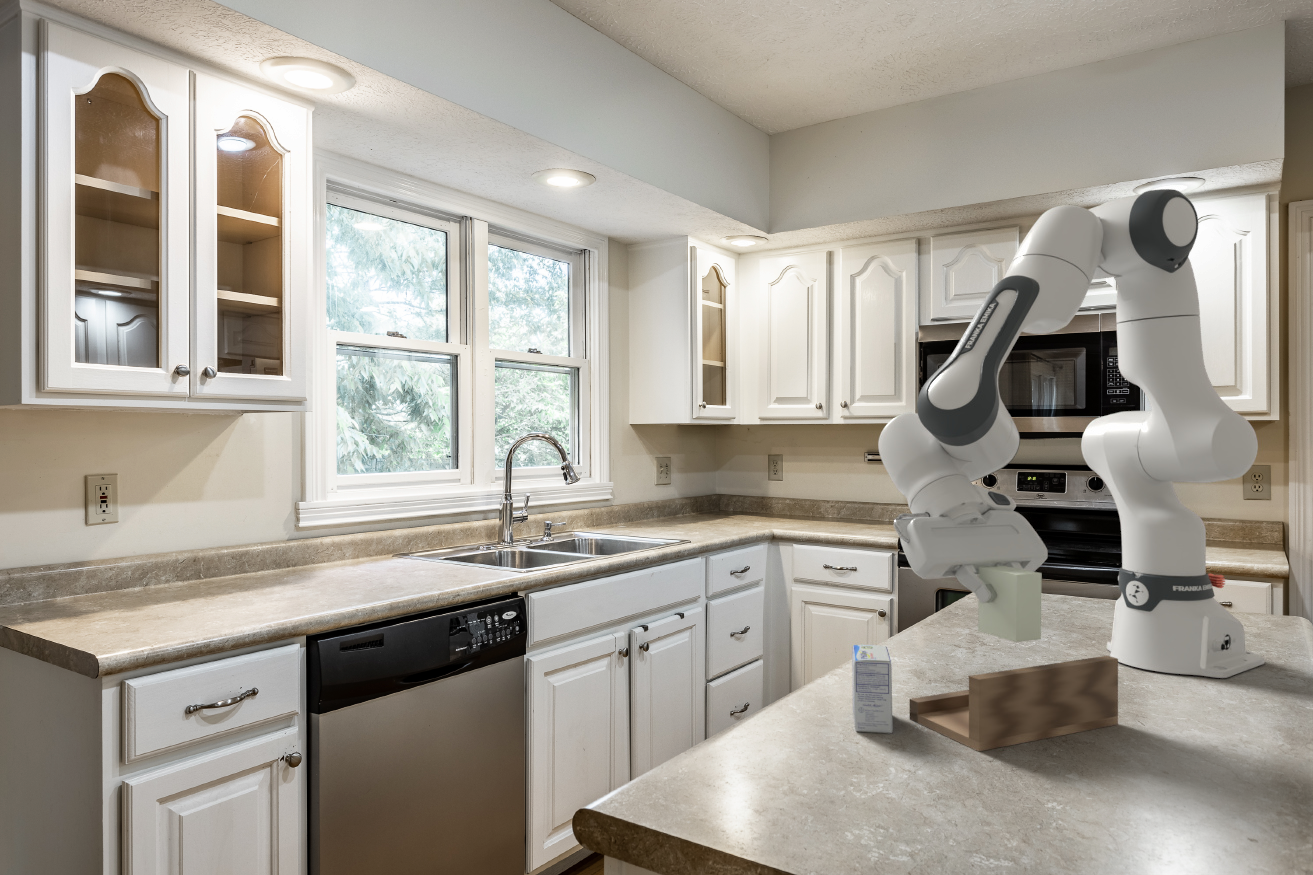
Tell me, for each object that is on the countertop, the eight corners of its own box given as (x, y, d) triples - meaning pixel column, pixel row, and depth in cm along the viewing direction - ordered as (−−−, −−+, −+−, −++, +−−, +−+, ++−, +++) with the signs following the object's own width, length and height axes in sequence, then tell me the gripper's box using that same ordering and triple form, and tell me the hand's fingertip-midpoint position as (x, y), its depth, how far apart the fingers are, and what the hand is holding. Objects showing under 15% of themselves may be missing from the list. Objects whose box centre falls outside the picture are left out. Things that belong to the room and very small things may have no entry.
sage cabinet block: (1002, 628, 106) (1003, 565, 106) (1040, 639, 100) (1041, 572, 100) (978, 631, 104) (978, 567, 104) (1015, 642, 99) (1016, 574, 99)
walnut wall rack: (1040, 696, 112) (1040, 637, 112) (1118, 724, 101) (1118, 658, 101) (909, 718, 103) (909, 654, 103) (978, 751, 92) (978, 679, 92)
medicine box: (892, 735, 98) (892, 661, 98) (853, 732, 99) (853, 659, 99) (887, 713, 105) (887, 644, 105) (851, 710, 106) (851, 643, 106)
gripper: (899, 498, 105) (954, 588, 96) (1020, 496, 113) (1081, 579, 104) (877, 530, 109) (927, 619, 100) (995, 525, 118) (1051, 607, 108)
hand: (1007, 598), depth 102 cm, fingers closed on sage cabinet block, 4 cm apart
